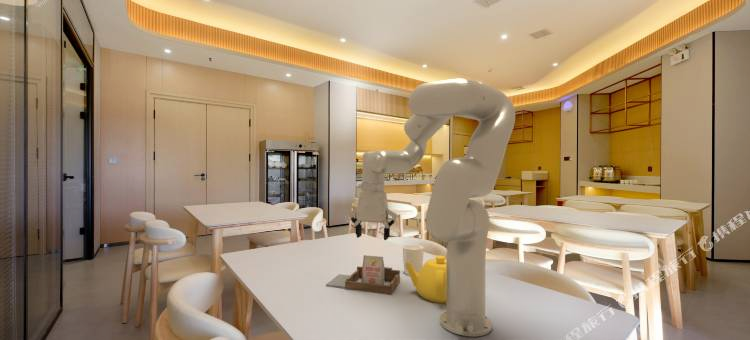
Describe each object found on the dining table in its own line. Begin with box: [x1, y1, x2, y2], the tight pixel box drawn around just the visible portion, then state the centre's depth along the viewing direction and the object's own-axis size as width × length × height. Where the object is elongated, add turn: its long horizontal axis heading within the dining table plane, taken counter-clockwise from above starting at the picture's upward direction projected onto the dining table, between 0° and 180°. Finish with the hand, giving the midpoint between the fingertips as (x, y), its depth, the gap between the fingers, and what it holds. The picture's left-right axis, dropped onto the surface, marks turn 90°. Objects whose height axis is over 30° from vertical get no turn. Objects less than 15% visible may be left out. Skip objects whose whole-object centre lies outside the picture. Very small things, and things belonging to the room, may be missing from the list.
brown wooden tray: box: [344, 266, 401, 296], centre depth 107 cm, size 12×16×5 cm
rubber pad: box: [325, 273, 352, 289], centre depth 111 cm, size 11×7×1 cm, turn 163°
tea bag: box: [361, 254, 385, 285], centre depth 107 cm, size 4×7×10 cm, turn 72°
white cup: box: [402, 244, 425, 276], centre depth 120 cm, size 8×8×10 cm
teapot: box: [406, 254, 446, 304], centre depth 100 cm, size 17×17×12 cm
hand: (372, 238), depth 108 cm, fingers open, 9 cm apart
